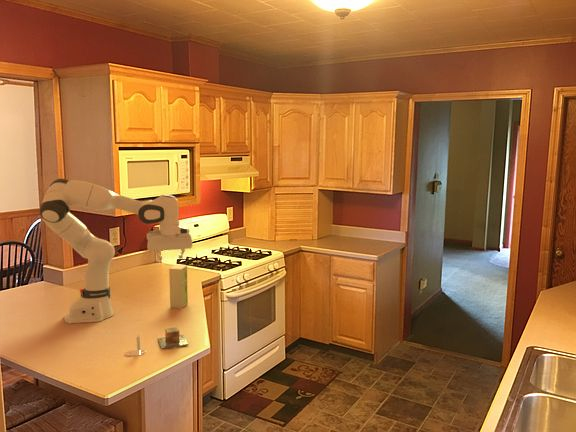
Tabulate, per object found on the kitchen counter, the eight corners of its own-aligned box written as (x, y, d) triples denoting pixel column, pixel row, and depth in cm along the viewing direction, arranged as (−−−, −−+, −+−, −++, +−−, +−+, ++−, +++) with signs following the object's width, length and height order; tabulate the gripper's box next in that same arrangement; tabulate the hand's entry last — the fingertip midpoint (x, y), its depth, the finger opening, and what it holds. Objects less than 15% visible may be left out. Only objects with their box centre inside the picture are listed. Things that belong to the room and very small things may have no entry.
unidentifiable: (125, 351, 202) (145, 350, 203) (123, 356, 197) (144, 355, 198) (124, 333, 201) (145, 332, 202) (122, 338, 196) (143, 337, 197)
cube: (167, 344, 207) (167, 332, 206) (165, 339, 212) (165, 328, 211) (179, 342, 209) (179, 331, 208) (177, 338, 214) (177, 326, 213)
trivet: (161, 349, 203) (161, 347, 203) (157, 340, 213) (157, 338, 213) (188, 345, 208) (188, 343, 208) (183, 336, 218) (183, 334, 218)
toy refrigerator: (183, 308, 254) (182, 269, 251) (170, 307, 256) (168, 268, 253) (189, 303, 262) (188, 265, 259) (176, 302, 264) (175, 264, 261)
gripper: (147, 232, 221) (148, 262, 223) (192, 229, 229) (193, 258, 230) (145, 230, 226) (146, 259, 228) (189, 227, 234) (190, 255, 236)
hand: (170, 259), depth 229 cm, fingers open, 8 cm apart
